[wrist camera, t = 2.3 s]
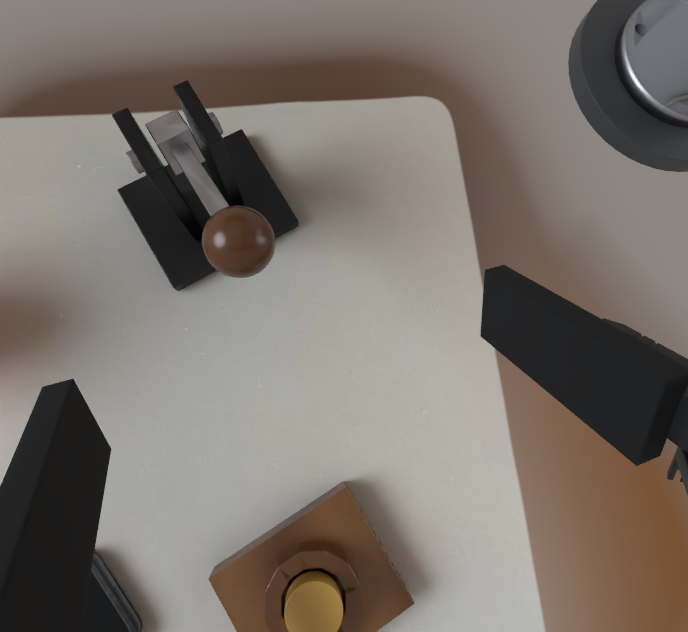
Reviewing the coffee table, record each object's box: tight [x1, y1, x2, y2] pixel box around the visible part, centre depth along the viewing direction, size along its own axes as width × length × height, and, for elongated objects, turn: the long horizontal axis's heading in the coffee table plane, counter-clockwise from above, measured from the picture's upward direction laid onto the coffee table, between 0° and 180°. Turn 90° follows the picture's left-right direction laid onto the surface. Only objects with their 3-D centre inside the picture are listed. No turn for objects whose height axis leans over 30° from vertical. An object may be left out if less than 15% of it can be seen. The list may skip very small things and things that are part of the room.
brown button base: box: [209, 482, 414, 632], centre depth 33 cm, size 12×10×4 cm
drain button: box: [284, 571, 343, 632], centre depth 30 cm, size 4×4×2 cm
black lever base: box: [112, 81, 298, 291], centre depth 32 cm, size 10×12×13 cm
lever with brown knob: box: [145, 110, 275, 278], centre depth 25 cm, size 14×4×4 cm, turn 31°
